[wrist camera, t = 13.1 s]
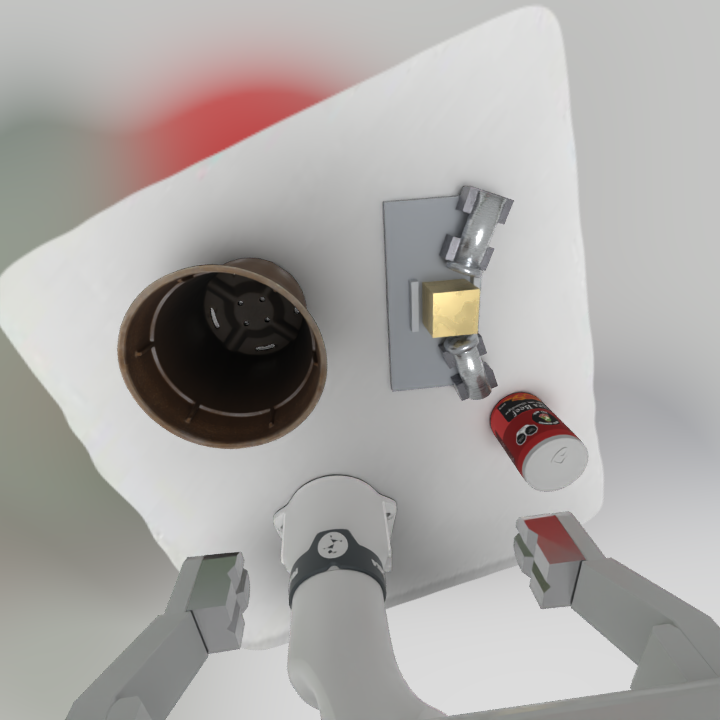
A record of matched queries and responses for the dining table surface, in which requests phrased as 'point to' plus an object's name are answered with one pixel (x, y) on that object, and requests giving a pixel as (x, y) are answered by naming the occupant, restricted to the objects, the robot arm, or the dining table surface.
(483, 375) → the shaft
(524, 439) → the canned food
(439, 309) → the golden yellow cube
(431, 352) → the grey base plate
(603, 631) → the robot arm
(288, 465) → the dining table surface
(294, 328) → the plant pot
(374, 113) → the dining table surface
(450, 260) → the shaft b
